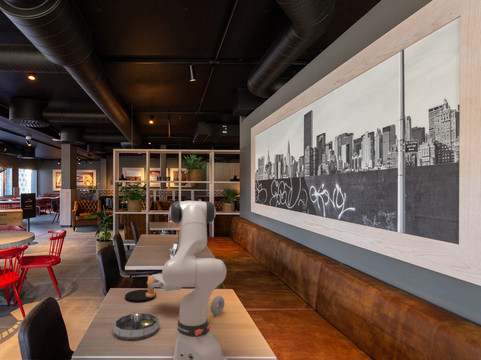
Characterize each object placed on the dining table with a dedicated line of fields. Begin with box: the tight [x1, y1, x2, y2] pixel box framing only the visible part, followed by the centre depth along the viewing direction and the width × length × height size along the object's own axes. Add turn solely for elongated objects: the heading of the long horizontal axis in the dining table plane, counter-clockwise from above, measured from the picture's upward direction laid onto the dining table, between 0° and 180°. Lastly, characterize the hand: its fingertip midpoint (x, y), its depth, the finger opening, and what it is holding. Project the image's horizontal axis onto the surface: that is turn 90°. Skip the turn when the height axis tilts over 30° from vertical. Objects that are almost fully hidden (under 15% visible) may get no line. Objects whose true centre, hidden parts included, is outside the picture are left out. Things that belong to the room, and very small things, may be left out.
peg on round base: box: [146, 275, 156, 297], centre depth 164 cm, size 5×5×10 cm
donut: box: [210, 295, 225, 316], centre depth 168 cm, size 10×4×10 cm, turn 147°
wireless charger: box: [124, 289, 157, 304], centre depth 189 cm, size 18×18×2 cm
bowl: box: [112, 311, 160, 342], centre depth 147 cm, size 20×20×8 cm
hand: (149, 284), depth 164 cm, fingers closed on peg on round base, 3 cm apart
